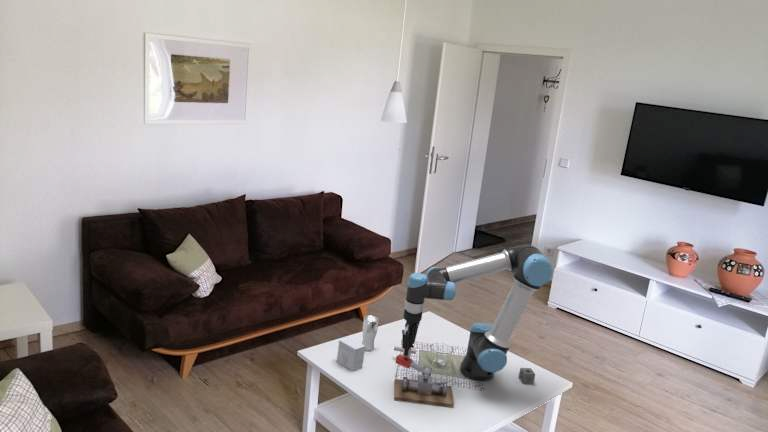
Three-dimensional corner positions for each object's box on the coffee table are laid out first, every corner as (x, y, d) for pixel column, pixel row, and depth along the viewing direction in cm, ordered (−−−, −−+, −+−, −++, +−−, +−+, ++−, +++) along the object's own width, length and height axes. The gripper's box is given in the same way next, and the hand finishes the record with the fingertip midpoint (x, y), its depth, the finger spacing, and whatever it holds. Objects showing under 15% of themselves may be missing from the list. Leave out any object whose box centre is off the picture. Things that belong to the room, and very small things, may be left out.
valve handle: (399, 360, 260) (400, 353, 259) (432, 374, 252) (433, 367, 251) (394, 363, 257) (395, 356, 256) (428, 377, 249) (429, 371, 248)
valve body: (444, 391, 256) (447, 374, 254) (445, 398, 251) (448, 381, 249) (401, 386, 256) (404, 368, 254) (401, 393, 251) (404, 375, 249)
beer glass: (360, 343, 290) (364, 314, 286) (375, 345, 290) (379, 316, 286) (359, 350, 283) (363, 320, 279) (374, 352, 283) (378, 322, 279)
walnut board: (450, 388, 260) (451, 385, 260) (453, 407, 247) (453, 404, 247) (394, 381, 260) (394, 378, 260) (394, 400, 247) (394, 396, 246)
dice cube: (522, 383, 272) (524, 373, 271) (518, 377, 277) (520, 368, 276) (533, 384, 273) (535, 374, 272) (528, 377, 278) (530, 368, 277)
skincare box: (363, 367, 269) (365, 345, 266) (352, 371, 264) (355, 349, 262) (346, 357, 276) (349, 336, 273) (336, 361, 271) (338, 339, 268)
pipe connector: (415, 356, 284) (418, 336, 281) (413, 367, 275) (417, 346, 272) (393, 352, 285) (396, 333, 282) (391, 363, 275) (394, 343, 273)
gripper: (411, 302, 259) (404, 352, 265) (398, 312, 248) (391, 364, 254) (428, 307, 256) (420, 358, 262) (415, 318, 245) (407, 370, 251)
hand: (406, 361), depth 258 cm, fingers closed
